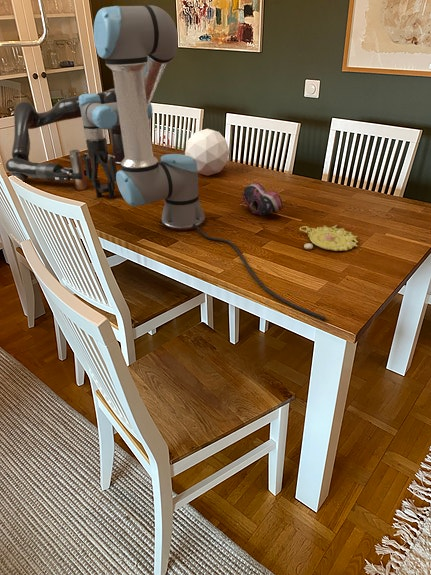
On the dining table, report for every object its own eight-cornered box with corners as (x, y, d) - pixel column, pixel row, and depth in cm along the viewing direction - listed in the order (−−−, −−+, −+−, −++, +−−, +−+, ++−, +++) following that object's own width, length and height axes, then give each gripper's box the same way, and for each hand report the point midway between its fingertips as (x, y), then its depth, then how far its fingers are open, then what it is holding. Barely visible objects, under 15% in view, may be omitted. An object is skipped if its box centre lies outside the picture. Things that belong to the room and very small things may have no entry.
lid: (109, 187, 180) (108, 183, 180) (113, 191, 176) (112, 187, 175) (96, 189, 179) (95, 185, 178) (99, 194, 175) (99, 189, 174)
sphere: (213, 191, 200) (211, 164, 181) (179, 169, 205) (173, 141, 186) (238, 162, 205) (238, 133, 186) (203, 141, 209) (200, 111, 191)
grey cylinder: (88, 186, 190) (81, 149, 182) (85, 189, 187) (78, 152, 178) (77, 186, 190) (70, 149, 182) (75, 190, 187) (67, 152, 178)
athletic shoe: (254, 181, 170) (227, 189, 167) (283, 176, 151) (253, 185, 147) (260, 210, 173) (234, 218, 170) (290, 209, 154) (261, 219, 150)
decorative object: (343, 255, 128) (285, 234, 139) (342, 262, 130) (284, 241, 140) (372, 230, 142) (317, 213, 152) (371, 237, 143) (316, 219, 153)
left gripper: (61, 175, 197) (95, 178, 192) (41, 186, 185) (77, 189, 181) (57, 158, 193) (92, 161, 188) (37, 168, 181) (73, 171, 177)
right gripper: (122, 137, 167) (130, 195, 179) (80, 134, 172) (91, 191, 184) (112, 142, 161) (121, 202, 173) (69, 139, 166) (81, 198, 179)
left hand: (84, 175), depth 185 cm, fingers closed on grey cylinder, 4 cm apart
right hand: (105, 196), depth 179 cm, fingers closed on lid, 5 cm apart
